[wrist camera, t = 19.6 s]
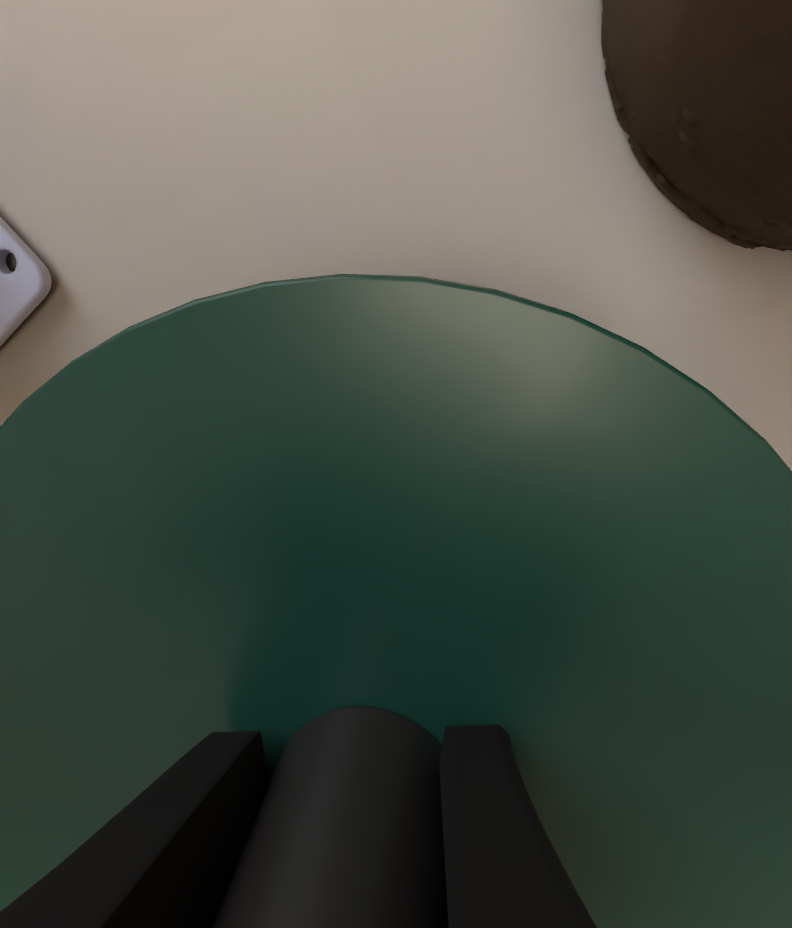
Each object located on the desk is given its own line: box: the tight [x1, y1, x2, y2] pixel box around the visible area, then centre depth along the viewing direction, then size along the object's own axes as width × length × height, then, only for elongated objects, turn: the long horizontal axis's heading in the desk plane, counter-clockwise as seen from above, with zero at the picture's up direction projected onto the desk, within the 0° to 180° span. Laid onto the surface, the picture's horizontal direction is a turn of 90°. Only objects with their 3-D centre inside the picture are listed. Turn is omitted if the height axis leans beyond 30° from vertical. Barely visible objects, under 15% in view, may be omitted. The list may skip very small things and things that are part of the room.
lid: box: [0, 274, 792, 928], centre depth 7 cm, size 12×12×5 cm
